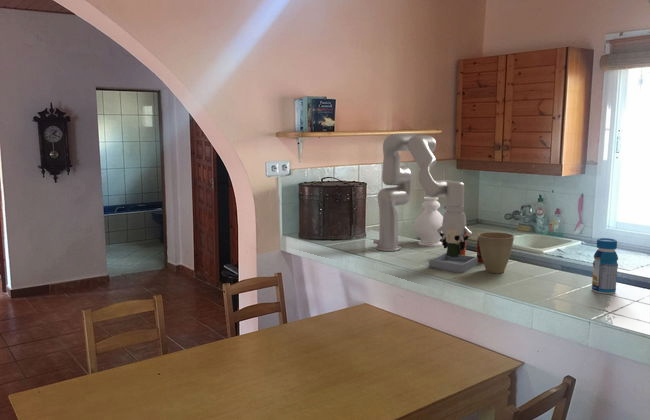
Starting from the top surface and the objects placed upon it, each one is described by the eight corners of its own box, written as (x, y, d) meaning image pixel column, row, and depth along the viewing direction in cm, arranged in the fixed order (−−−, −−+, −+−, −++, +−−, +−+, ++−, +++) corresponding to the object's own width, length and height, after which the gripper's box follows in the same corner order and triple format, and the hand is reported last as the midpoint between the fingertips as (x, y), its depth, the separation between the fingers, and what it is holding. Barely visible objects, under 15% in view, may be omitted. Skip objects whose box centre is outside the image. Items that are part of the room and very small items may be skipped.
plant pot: (498, 265, 250) (500, 231, 248) (519, 273, 236) (521, 237, 234) (470, 268, 246) (471, 233, 243) (489, 277, 232) (491, 239, 229)
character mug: (452, 260, 243) (453, 230, 241) (439, 257, 248) (440, 228, 246) (467, 256, 250) (468, 227, 248) (454, 253, 255) (455, 225, 253)
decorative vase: (453, 243, 298) (455, 197, 294) (433, 248, 286) (434, 200, 282) (427, 239, 311) (428, 194, 307) (406, 243, 299) (407, 197, 295)
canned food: (475, 261, 258) (475, 238, 256) (478, 258, 265) (479, 235, 263) (491, 263, 254) (492, 240, 253) (495, 259, 261) (496, 236, 260)
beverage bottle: (608, 296, 204) (612, 242, 202) (586, 290, 211) (590, 239, 208) (620, 292, 209) (624, 240, 206) (598, 287, 216) (601, 236, 213)
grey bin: (428, 267, 247) (429, 260, 247) (445, 260, 261) (445, 252, 261) (462, 273, 238) (462, 265, 238) (477, 264, 252) (477, 257, 252)
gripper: (433, 209, 248) (432, 248, 251) (470, 212, 238) (469, 252, 240) (440, 207, 254) (439, 245, 257) (477, 210, 244) (475, 249, 246)
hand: (453, 248), depth 249 cm, fingers closed on character mug, 7 cm apart
